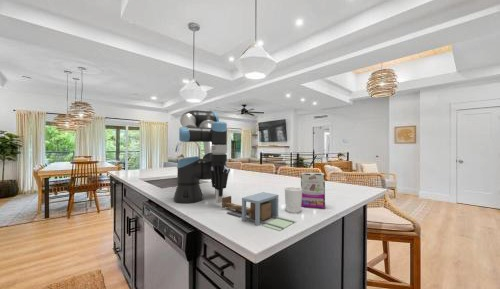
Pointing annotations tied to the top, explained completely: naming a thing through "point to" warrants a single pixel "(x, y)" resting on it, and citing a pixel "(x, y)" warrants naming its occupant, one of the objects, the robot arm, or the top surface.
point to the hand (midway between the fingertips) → (219, 202)
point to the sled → (264, 208)
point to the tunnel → (257, 200)
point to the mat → (279, 223)
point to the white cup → (293, 199)
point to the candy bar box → (313, 190)
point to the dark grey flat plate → (236, 213)
